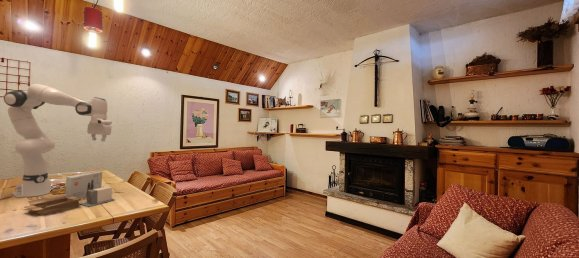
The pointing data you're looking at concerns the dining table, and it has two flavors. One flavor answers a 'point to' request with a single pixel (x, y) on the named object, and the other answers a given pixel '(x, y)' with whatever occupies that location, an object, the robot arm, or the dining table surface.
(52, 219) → the dining table surface
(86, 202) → the felt mat
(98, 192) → the box
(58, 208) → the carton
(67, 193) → the skincare box
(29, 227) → the dining table surface
